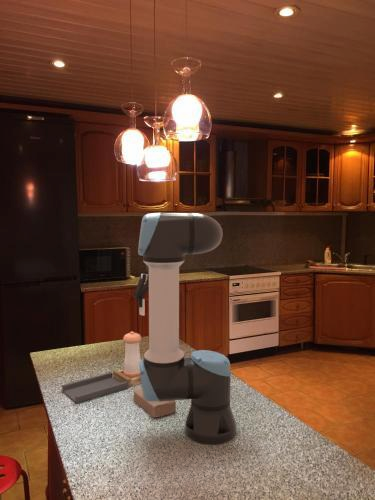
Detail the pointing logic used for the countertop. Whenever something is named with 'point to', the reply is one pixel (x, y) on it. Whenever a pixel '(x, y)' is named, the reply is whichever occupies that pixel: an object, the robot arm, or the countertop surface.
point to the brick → (154, 404)
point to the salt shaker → (132, 355)
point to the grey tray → (93, 388)
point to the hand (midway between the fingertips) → (156, 312)
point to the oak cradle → (126, 378)
